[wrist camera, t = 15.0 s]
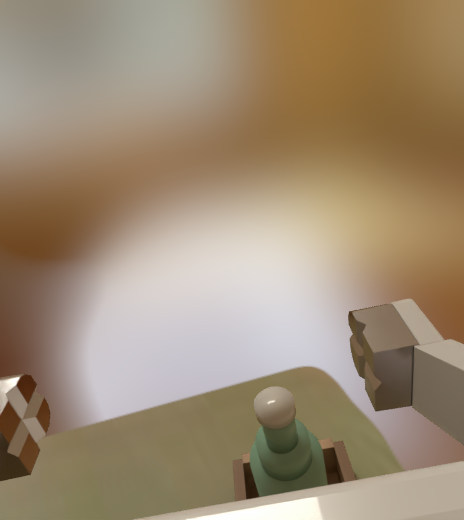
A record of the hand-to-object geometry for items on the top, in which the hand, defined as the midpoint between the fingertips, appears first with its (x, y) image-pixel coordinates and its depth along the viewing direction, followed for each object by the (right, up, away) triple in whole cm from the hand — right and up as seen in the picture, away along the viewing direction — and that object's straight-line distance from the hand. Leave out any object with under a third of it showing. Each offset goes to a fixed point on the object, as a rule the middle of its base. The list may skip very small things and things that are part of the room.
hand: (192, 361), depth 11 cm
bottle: (+8, -23, +27) cm, 36 cm away
